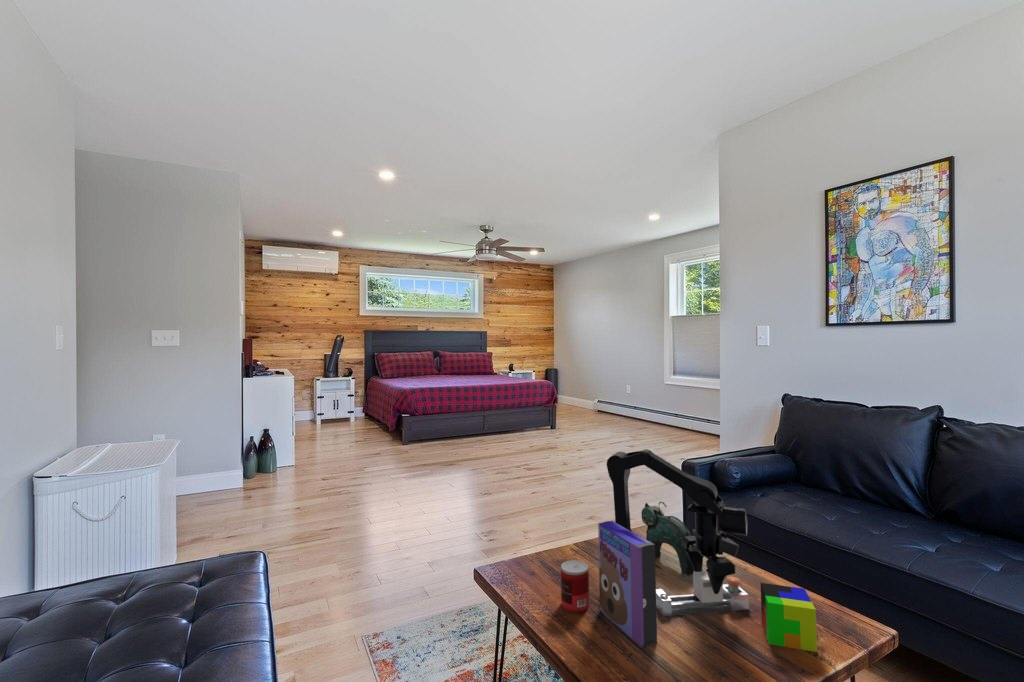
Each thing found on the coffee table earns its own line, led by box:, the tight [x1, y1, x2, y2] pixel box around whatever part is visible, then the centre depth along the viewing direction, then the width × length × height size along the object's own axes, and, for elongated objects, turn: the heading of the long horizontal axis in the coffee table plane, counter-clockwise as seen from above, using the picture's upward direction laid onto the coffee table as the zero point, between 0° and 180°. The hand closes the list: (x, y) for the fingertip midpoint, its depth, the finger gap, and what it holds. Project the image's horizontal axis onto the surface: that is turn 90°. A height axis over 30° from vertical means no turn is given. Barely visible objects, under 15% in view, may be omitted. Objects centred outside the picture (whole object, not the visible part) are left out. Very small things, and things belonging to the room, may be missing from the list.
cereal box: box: [597, 520, 658, 648], centre depth 120 cm, size 17×5×24 cm, turn 23°
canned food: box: [560, 559, 590, 614], centre depth 130 cm, size 8×8×11 cm
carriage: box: [692, 570, 724, 603], centre depth 129 cm, size 6×5×6 cm
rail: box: [656, 583, 750, 617], centre depth 129 cm, size 24×6×4 cm, turn 96°
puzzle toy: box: [760, 582, 818, 653], centre depth 115 cm, size 10×10×10 cm
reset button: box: [725, 575, 741, 593], centre depth 130 cm, size 4×4×5 cm
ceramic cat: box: [641, 501, 695, 577], centre depth 155 cm, size 20×6×20 cm, turn 28°
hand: (707, 585), depth 129 cm, fingers open, 9 cm apart
